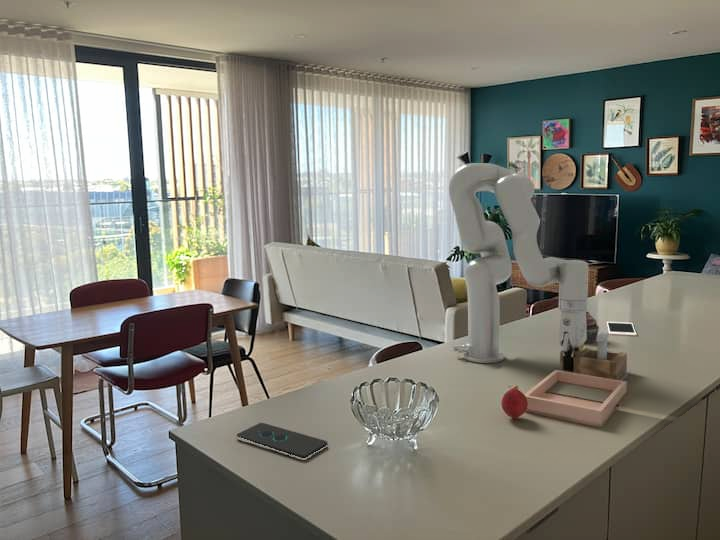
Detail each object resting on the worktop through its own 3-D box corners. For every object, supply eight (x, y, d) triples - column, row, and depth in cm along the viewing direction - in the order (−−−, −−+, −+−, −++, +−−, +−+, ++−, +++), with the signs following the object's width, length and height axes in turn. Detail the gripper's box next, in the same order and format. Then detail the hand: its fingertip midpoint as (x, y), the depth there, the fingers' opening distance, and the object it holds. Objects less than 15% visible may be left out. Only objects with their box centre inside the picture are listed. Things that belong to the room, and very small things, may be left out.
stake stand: (630, 375, 164) (632, 332, 162) (618, 389, 153) (620, 343, 151) (568, 365, 174) (569, 324, 172) (553, 378, 163) (554, 334, 162)
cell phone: (608, 336, 206) (609, 333, 206) (606, 323, 223) (606, 321, 223) (636, 337, 203) (636, 334, 203) (632, 325, 220) (632, 322, 220)
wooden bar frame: (626, 370, 163) (626, 352, 162) (616, 381, 154) (616, 363, 154) (568, 362, 173) (568, 345, 172) (555, 372, 164) (555, 355, 163)
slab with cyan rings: (261, 421, 137) (329, 440, 126) (261, 428, 137) (329, 448, 126) (234, 434, 130) (303, 455, 119) (235, 441, 131) (304, 463, 119)
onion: (513, 425, 133) (513, 391, 132) (496, 417, 138) (496, 384, 137) (532, 420, 136) (533, 387, 135) (515, 412, 141) (515, 379, 140)
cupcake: (590, 345, 194) (590, 315, 192) (563, 340, 201) (563, 311, 199) (604, 339, 200) (605, 311, 198) (577, 335, 207) (578, 307, 206)
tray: (600, 427, 130) (601, 411, 130) (522, 411, 141) (522, 395, 141) (626, 396, 149) (626, 381, 148) (555, 383, 159) (555, 369, 159)
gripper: (577, 311, 155) (575, 379, 158) (595, 300, 168) (593, 363, 171) (549, 308, 160) (547, 374, 162) (568, 298, 173) (567, 359, 175)
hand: (571, 367), depth 167 cm, fingers closed on wooden bar frame, 3 cm apart
